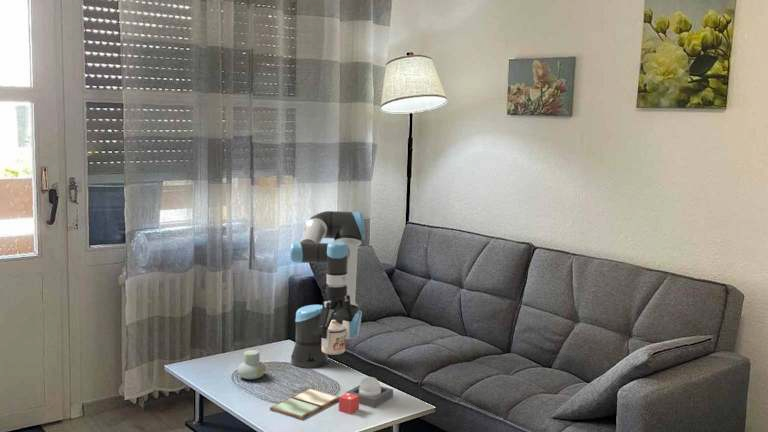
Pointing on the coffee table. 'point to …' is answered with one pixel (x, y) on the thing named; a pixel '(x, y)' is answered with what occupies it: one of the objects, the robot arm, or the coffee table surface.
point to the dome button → (370, 387)
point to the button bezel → (370, 401)
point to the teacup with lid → (335, 338)
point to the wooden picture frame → (305, 403)
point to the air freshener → (251, 366)
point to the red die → (349, 403)
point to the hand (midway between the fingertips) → (335, 342)
